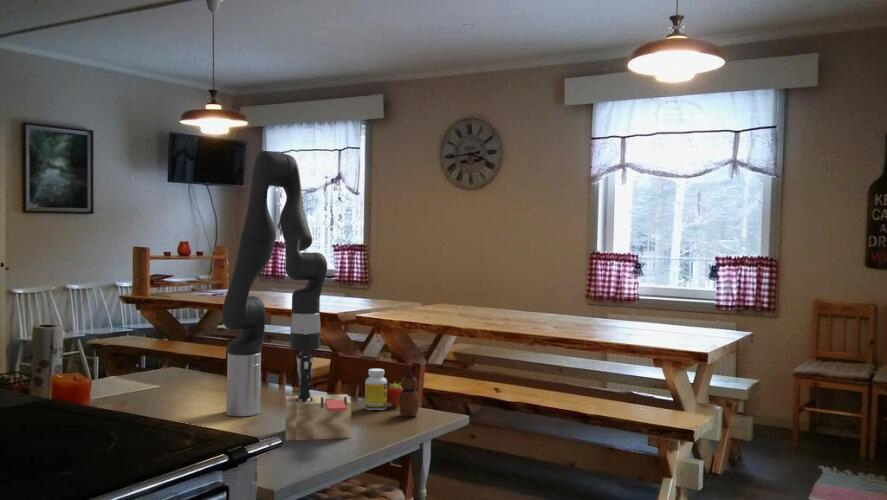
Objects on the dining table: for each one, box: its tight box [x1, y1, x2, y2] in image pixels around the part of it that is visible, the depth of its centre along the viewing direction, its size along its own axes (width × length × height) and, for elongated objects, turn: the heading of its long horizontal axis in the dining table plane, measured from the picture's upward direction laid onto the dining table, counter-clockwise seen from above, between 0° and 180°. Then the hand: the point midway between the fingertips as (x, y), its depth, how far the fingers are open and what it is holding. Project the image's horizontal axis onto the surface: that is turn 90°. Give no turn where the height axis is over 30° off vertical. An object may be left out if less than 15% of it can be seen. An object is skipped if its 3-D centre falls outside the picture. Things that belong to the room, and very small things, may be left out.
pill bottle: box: [364, 368, 388, 411], centre depth 226 cm, size 6×6×12 cm
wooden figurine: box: [398, 362, 420, 418], centre depth 218 cm, size 7×6×15 cm
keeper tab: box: [325, 399, 347, 411], centre depth 187 cm, size 4×10×1 cm, turn 13°
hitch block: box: [284, 393, 352, 441], centre depth 195 cm, size 16×12×11 cm
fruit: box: [387, 381, 403, 408], centre depth 229 cm, size 5×5×8 cm
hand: (304, 396), depth 195 cm, fingers open, 4 cm apart
